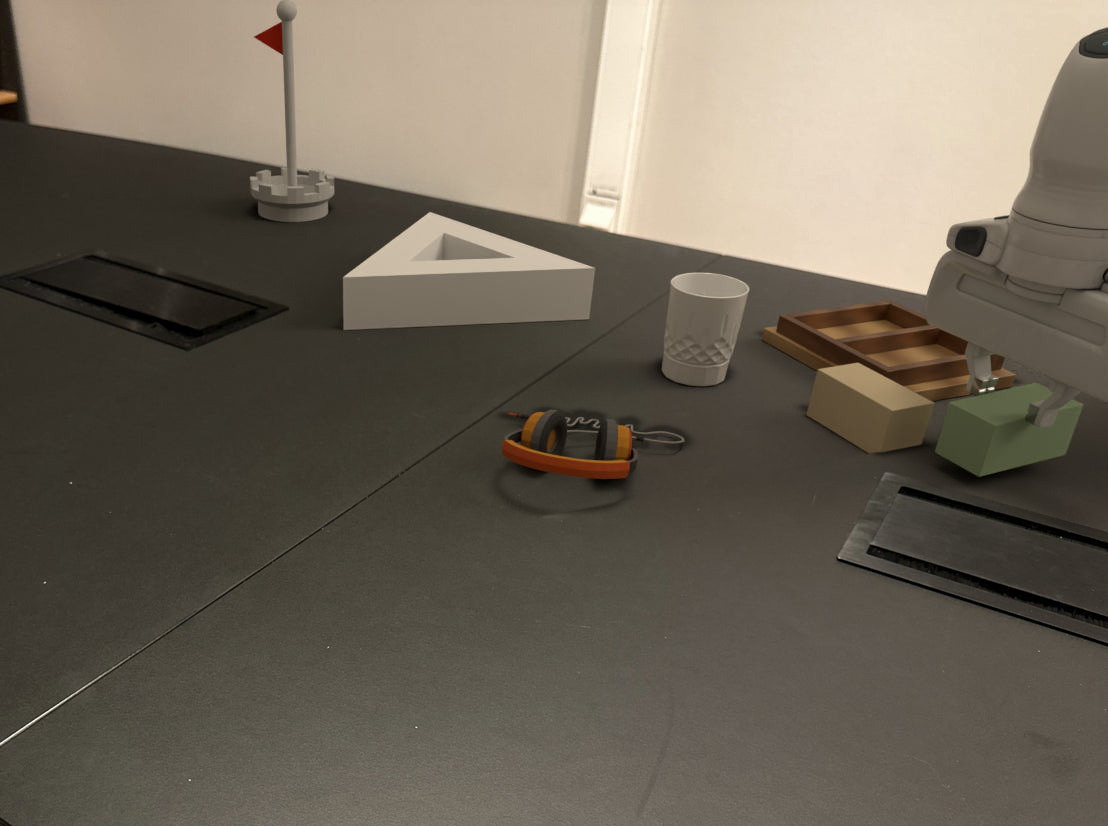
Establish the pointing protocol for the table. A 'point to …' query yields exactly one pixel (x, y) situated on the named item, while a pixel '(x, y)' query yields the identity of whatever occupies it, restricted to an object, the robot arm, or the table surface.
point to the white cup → (702, 327)
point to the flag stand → (289, 146)
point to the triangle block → (462, 281)
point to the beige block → (868, 408)
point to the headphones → (548, 439)
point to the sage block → (1004, 430)
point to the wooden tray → (882, 346)
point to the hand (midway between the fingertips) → (1007, 408)
